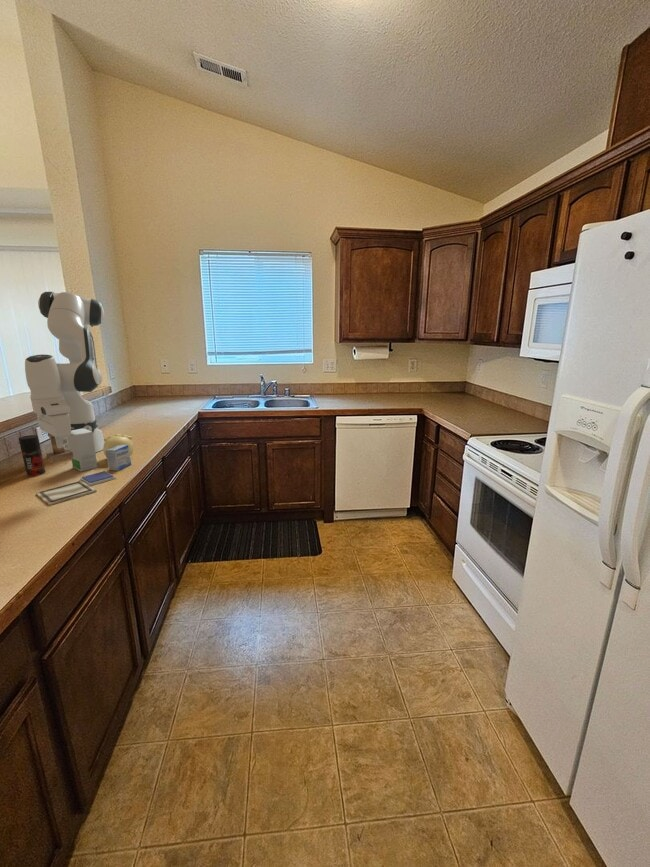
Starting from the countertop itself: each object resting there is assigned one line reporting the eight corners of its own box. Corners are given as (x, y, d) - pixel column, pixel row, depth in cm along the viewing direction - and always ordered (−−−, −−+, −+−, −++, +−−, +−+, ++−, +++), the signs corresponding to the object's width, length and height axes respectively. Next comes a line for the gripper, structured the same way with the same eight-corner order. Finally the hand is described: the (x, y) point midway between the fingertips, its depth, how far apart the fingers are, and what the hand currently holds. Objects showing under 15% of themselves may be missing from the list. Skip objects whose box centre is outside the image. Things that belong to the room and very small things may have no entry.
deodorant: (25, 477, 147) (16, 440, 143) (28, 472, 152) (20, 436, 148) (44, 474, 150) (36, 437, 146) (46, 469, 155) (39, 434, 151)
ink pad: (80, 480, 144) (79, 477, 143) (105, 473, 150) (105, 470, 150) (89, 485, 138) (89, 482, 138) (115, 478, 145) (115, 475, 145)
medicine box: (118, 471, 153) (114, 450, 150) (108, 470, 154) (105, 449, 151) (131, 464, 160) (128, 444, 158) (122, 463, 161) (119, 444, 159)
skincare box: (72, 467, 157) (65, 431, 153) (89, 463, 162) (83, 427, 158) (82, 472, 152) (74, 434, 148) (99, 467, 157) (92, 430, 153)
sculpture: (136, 452, 175) (132, 430, 172) (132, 461, 164) (128, 437, 161) (108, 455, 172) (104, 432, 169) (102, 464, 161) (98, 439, 158)
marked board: (36, 494, 132) (35, 491, 131) (81, 482, 142) (81, 479, 142) (49, 505, 123) (48, 503, 123) (96, 491, 133) (96, 489, 133)
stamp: (47, 458, 129) (41, 433, 126) (67, 454, 133) (62, 429, 131) (53, 462, 125) (47, 436, 123) (73, 457, 129) (68, 432, 127)
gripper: (28, 403, 128) (37, 443, 132) (47, 411, 116) (57, 454, 119) (50, 401, 133) (58, 439, 137) (71, 407, 120) (79, 449, 124)
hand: (57, 446), depth 128 cm, fingers closed on stamp, 3 cm apart
